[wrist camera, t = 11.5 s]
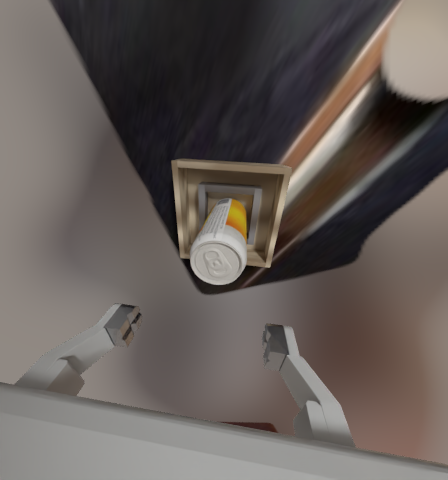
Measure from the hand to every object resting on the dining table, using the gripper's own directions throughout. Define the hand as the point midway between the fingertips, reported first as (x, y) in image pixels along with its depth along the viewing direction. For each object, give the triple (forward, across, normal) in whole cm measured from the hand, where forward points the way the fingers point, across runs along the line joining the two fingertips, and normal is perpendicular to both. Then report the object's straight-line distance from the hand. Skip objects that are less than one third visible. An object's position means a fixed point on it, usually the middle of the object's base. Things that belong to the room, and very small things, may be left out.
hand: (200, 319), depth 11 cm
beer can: (+22, 0, +1) cm, 22 cm away
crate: (+22, 0, +1) cm, 22 cm away
